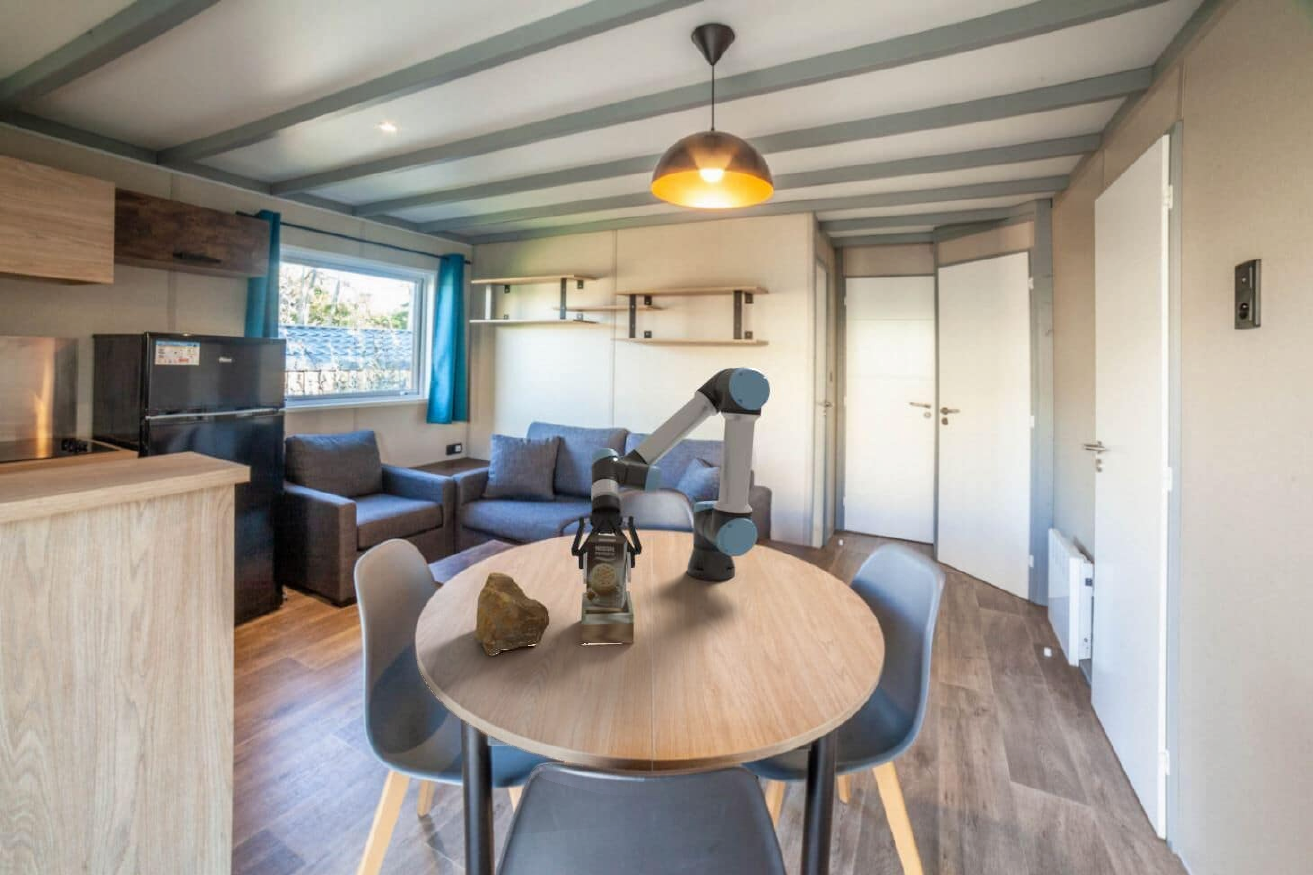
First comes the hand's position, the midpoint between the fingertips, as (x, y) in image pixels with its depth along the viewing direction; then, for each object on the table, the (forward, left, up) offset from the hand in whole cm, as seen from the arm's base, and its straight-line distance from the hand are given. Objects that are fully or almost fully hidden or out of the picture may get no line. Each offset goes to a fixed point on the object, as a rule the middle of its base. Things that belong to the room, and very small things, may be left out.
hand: (607, 580), depth 135 cm
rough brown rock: (+22, +1, -14) cm, 26 cm away
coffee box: (0, -3, -7) cm, 8 cm away
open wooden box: (0, -3, -14) cm, 14 cm away
